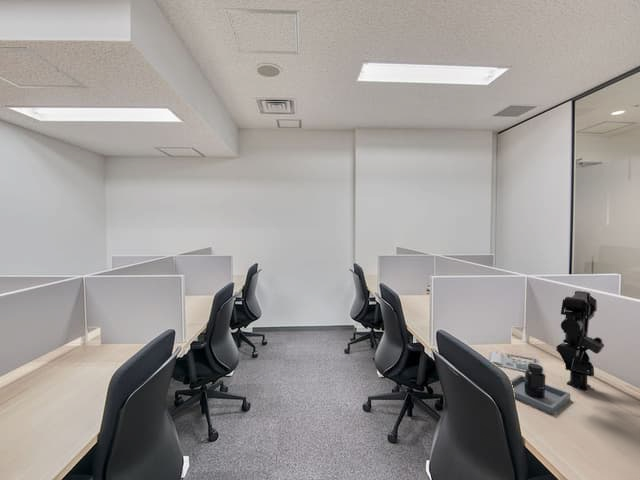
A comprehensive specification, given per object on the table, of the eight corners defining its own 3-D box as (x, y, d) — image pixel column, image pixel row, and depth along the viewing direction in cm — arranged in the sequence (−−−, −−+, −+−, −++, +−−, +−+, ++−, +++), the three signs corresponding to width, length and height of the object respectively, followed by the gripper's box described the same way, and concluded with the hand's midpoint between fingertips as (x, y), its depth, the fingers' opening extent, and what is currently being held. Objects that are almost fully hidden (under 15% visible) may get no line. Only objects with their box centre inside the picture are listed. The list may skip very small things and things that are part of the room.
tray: (520, 380, 131) (520, 374, 131) (570, 399, 116) (570, 393, 116) (500, 392, 121) (500, 386, 121) (552, 415, 106) (552, 408, 106)
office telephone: (487, 360, 147) (489, 347, 164) (487, 365, 147) (489, 352, 164) (545, 372, 134) (540, 356, 151) (544, 377, 134) (540, 361, 151)
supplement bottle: (543, 401, 114) (544, 371, 113) (522, 394, 118) (523, 365, 118) (546, 394, 118) (546, 365, 118) (526, 387, 123) (526, 360, 123)
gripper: (593, 339, 105) (592, 381, 105) (608, 330, 115) (607, 368, 115) (556, 330, 114) (555, 369, 115) (573, 322, 124) (572, 358, 125)
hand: (573, 366), depth 117 cm, fingers open, 9 cm apart
